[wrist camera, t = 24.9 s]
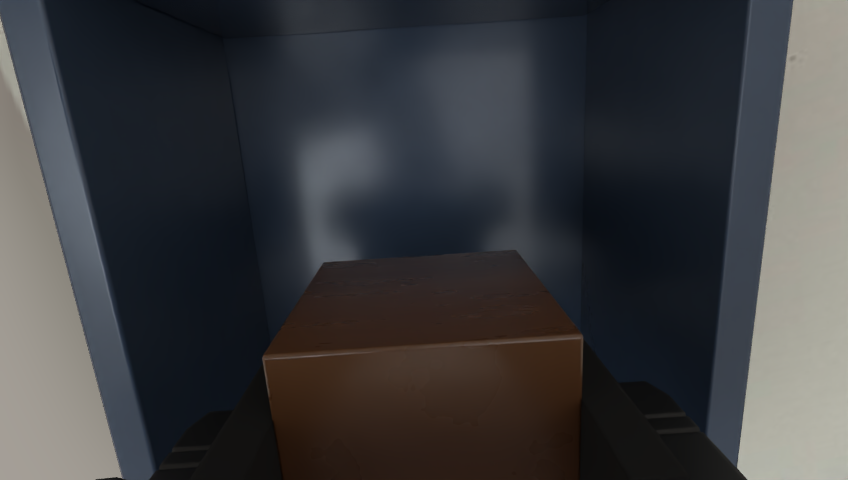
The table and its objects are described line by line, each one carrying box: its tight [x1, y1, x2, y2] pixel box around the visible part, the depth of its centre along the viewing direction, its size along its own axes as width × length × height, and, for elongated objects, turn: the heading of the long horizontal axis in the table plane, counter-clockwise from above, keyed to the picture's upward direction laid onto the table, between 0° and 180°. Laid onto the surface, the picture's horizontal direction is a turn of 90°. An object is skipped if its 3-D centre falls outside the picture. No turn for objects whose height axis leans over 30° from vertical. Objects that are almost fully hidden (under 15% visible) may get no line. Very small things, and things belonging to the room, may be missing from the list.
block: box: [262, 250, 583, 480], centre depth 10 cm, size 5×5×5 cm
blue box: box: [0, 0, 793, 480], centre depth 14 cm, size 19×14×9 cm
